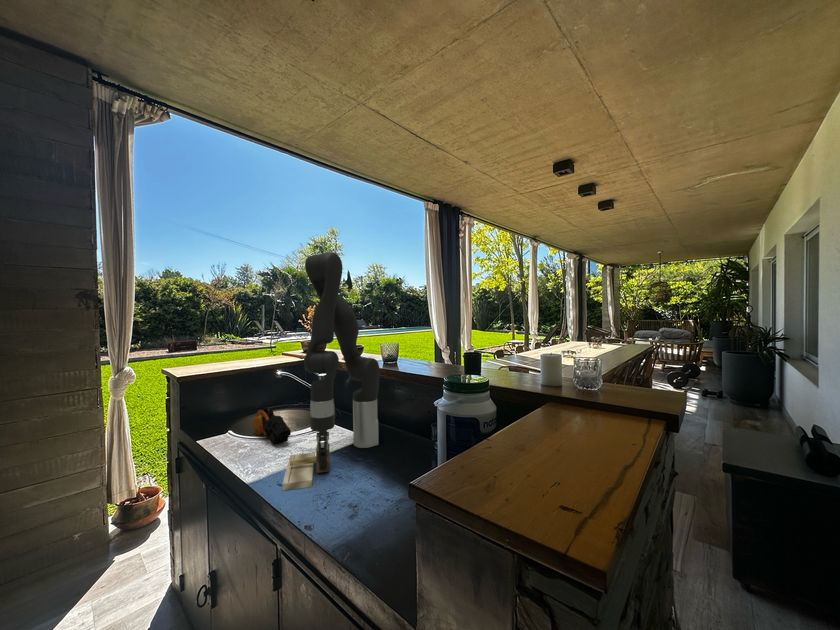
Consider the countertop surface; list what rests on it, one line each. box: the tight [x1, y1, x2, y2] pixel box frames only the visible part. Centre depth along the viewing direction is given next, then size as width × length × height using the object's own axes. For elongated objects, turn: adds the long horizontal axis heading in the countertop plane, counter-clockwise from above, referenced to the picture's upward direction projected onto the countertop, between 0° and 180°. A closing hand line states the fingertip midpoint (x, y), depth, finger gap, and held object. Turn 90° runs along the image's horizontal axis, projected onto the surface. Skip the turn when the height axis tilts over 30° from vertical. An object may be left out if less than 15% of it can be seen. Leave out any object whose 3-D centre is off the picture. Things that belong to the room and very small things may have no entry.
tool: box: [252, 406, 292, 446], centre depth 137 cm, size 8×23×15 cm, turn 46°
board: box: [282, 451, 316, 492], centre depth 109 cm, size 8×20×2 cm, turn 15°
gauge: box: [290, 442, 331, 474], centre depth 109 cm, size 12×5×8 cm, turn 105°
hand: (323, 465), depth 110 cm, fingers closed on gauge, 5 cm apart
